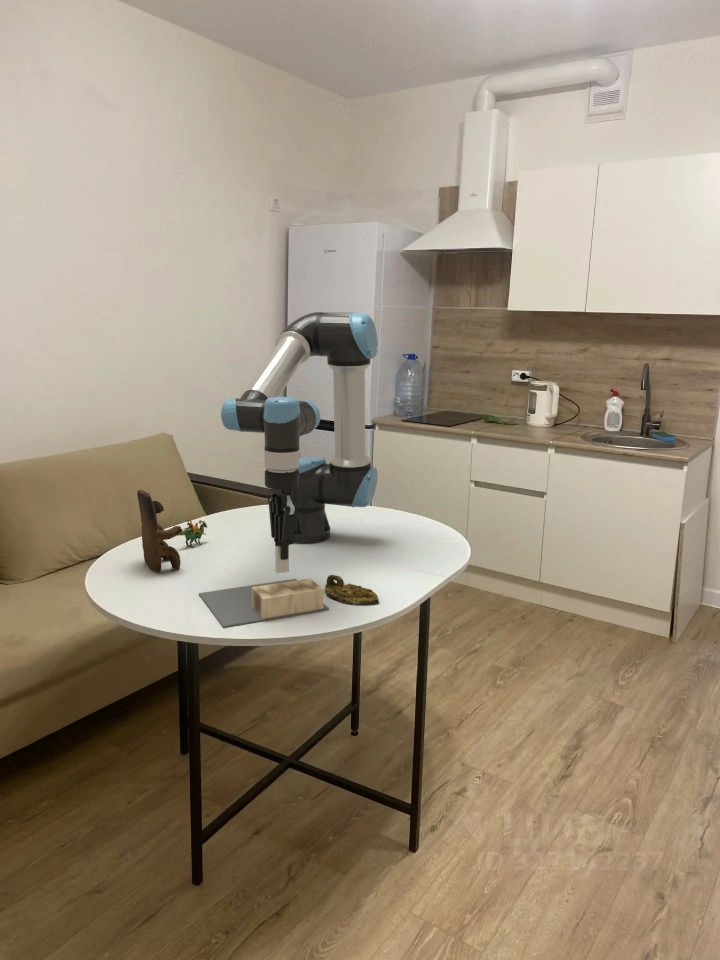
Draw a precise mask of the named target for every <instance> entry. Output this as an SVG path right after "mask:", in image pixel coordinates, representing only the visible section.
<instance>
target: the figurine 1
mask: <svg viewBox="0 0 720 960" xmlns="http://www.w3.org/2000/svg"><path fill="white" fill-rule="evenodd" d="M136 495H137V501H138V506H139V507H138V508H139V512H140V523H141V541H142V542H141V543H142V551H143V559H144V562H145V565H146V566H147V567H148V568H149V569H151V570H153V571H154V572H156V573H160V572H161V571H162V559H163V561H169V562H170V565H171V569H173V570H178V569H180V568H181V556H180V553H179V552H178V550H177V549H176V548H175V547H173V546H171V545H169V544H168V543H167V542H166V541H167V540H170V539H173V538H175V537H178V536H179V535H178V534H179V533H181V532H182V531H184V529H183V528H182V527H181V526H180V525H175V526H173V527H171V528H169V529H164V528H163V526H161V525H160V524H159V523H158V518H157V514H161V513H162V512H164V505H163V504H162V503H161V502H160V501H158V500H153V499H152V496H151V493H150V492H147V491H145V490H143V489H139V490H137V494H136ZM177 535H178V536H177Z"/></svg>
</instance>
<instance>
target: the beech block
mask: <svg viewBox="0 0 720 960" xmlns="http://www.w3.org/2000/svg"><path fill="white" fill-rule="evenodd" d="M324 594H325V588H324V589H323V587H322V586H320V585H319V584H317V582H316V581H314V580H313V579H312V578H304V579H297V580H296V581H290V582H283V583H276V584H270V585H263V586H256V587H252V607H253V608H254V609H255V610H256V611H257V613H258V614H259V615H260V616H261V617H262V618H263V619H266V618H271V617H277V616H283V615H289V614H295V613H300V612H306V611H312V610H318V609H323V603H324Z"/></svg>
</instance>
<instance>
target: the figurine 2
mask: <svg viewBox="0 0 720 960" xmlns="http://www.w3.org/2000/svg"><path fill="white" fill-rule="evenodd" d="M186 525H187V527H185V528H184V529H183V531H182V532H181V533H179V534H178V535H177V536H176V537H178V536H184V537H185V544H186V547H188V546H189V548H195V546H193V545H192V543H193V542H195V544H199V545H201V546H203V543H201V541H200V540H201V539H202V535H205V536H206V535H207V533H205V529H204V528H208V525H207V523H206V521H205V520H201V519H200V520H199V521H198V522H195V525H194V524H193V523H192V520H191V519H190V518H188V519H187V523H186ZM199 525H200V526H199Z"/></svg>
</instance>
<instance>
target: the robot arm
mask: <svg viewBox="0 0 720 960" xmlns="http://www.w3.org/2000/svg"><path fill="white" fill-rule="evenodd" d="M378 342H379V341H378V333H377V329H376V324H375V322H374V320H373V319H372V317H371V316H370V315H369V314H366V313H361V312H321V311H315V312H311V313H307V314H304V315H302V316H300V317H298V318H297V319H295V320H294V321H292V322H291V323H289V324H288V325H287V326H286V327H285V328H284V329H283V330H282V331H281V332H280V334H279V335H277V338H276V340H275V347H274V349H273V351H272V352H271V353H270V355H269V357H268V358H267V359H266V361H265V362H264V364H263V365H262V366H261V367H260V369H259V371H258V372H257V373H256V374H255V376H254V377H253V379H252V381H251V382H250V383H249V385H248V387H247V388H246V390H245V391H244V392H243V393H242V395H241V396H240V397H239V398H237V397H234V398H228V399H226V400H224V402H223V404H222V405H221V409H220V410H221V411H220V418H221V422H222V425H223V427H224V428H225V429H227V430H228V431H235V432H237V431H238V432H239V433H243V432H244V433H261V434H264V450H263V451H264V452H263V454H264V455H263V458H264V460H263V461H264V463H263V466H264V468H265V471H264V485H265V487H266V488H268V489H270V490H271V493H269V494H266V498H267V503H268V511H269V512H268V513H269V522H270V536H271V538H272V539H273V541H274V548H275V550H274V551H275V552H274V555H275V556H274V557H275V558H274V559H275V561H274V563H275V565H274V567H275V570H274V571H275V572H276V573H277V574H283V573H290V546H291V545H294V543H296V544H314V543H319V542H325V541H327V540H328V539H330V538H331V526H330V523H329V519H328V517H327V513H326V505H333V506H343V507H344V506H345V507H351V508H366V507H368V506H369V505H370V504H371V502H372V501H373V500H374V499H373V498H374V497H375V494H376V493H375V492H376V490H377V489H376V488H377V484H378V469H377V468H376V467H374V466H372V464H371V463H372V462H371V461H372V459H371V458H370V457H369V456H368V455H367V454H366V369H368V368H369V366H370V365H371V360H372V359H374V358H375V357H376V356H377V352H378ZM310 357H326V358H327V361H326V363H327V365H328V366H329V368H331V370H332V371H333V372H332V375H333V381H332V382H333V383H332V384H333V419H334V421H333V422H334V425H333V429H334V455H333V456H332V457H331V458H330V459H329V463H327V460H326V458H325V457H322V456H309V457H302V453H301V452H300V437H302V436H304V435H308V434H310V433H311V432H313V431H314V430H315V429H316V428H317V427H318V426H319V424H320V422H321V412H320V409H319V408H318V406H316V404H315V403H313V402H311V401H309V400H298V398H296V397H290V396H281V395H282V393H283V391H284V390H285V388H286V387H287V385H288V384H289V382H290V381H291V379H292V377H293V376H294V374H295V372H296V371H297V369H298V367H299V366H300V364H304V363H305V362H306V361H308V360H309V358H310ZM300 457H301V458H300Z"/></svg>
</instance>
